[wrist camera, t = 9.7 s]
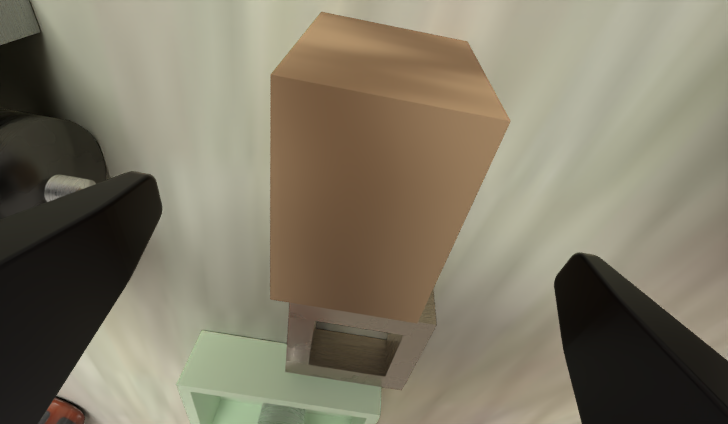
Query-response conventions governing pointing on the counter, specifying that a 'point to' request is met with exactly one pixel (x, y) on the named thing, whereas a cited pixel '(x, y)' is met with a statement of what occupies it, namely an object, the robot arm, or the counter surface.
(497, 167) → the counter surface
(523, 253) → the counter surface
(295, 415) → the pin
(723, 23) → the counter surface
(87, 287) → the robot arm
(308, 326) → the pin socket
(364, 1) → the counter surface
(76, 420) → the supplement bottle
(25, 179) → the trolley
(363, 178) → the block
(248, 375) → the tray
